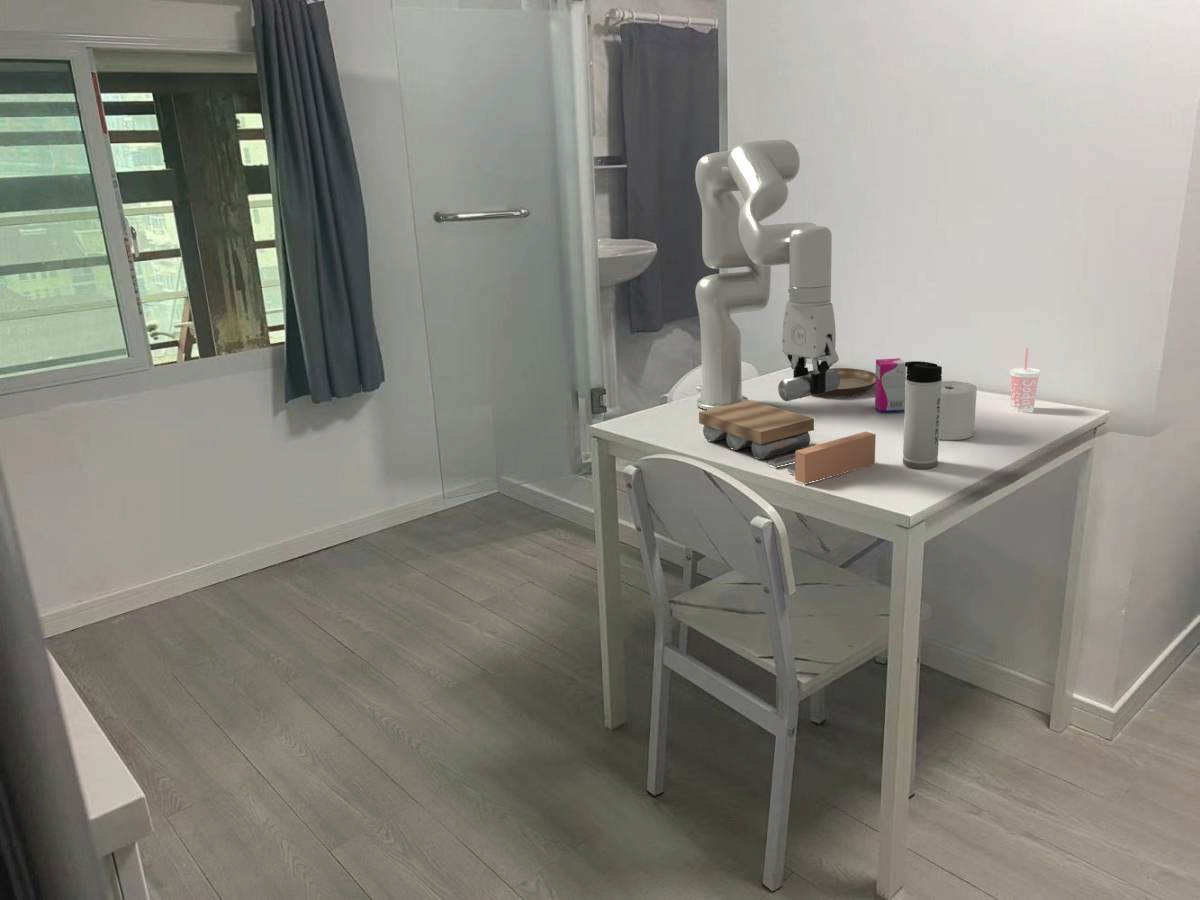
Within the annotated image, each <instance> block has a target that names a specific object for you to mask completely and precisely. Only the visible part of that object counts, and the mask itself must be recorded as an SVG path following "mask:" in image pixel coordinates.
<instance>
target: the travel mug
mask: <svg viewBox="0 0 1200 900" xmlns="http://www.w3.org/2000/svg"><path fill="white" fill-rule="evenodd" d="M904 362H905V361H904ZM905 366H906V389H905V412H904V422H903V423H904V424H903V427H904V428H903V443H902V444H903V445H902V446H903V449H902V464H903V466H904V467H905V466H906V467H907V468H910V469H914V468H915V469H916V470H928V469H929V470H931V469H933V468H935V467H936V466H938V463H939V462H938V461H939V459H938V456H939V441H940V439H939V424H940V405H941V386H942V383H941V382H942V381H943V380H942V377H943V376H942V374H943V368H942V365H938V364H937V363H934V362H928V361H915V360H914V361H913V360H912V361H906V362H905Z"/></svg>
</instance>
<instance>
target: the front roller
mask: <svg viewBox="0 0 1200 900" xmlns="http://www.w3.org/2000/svg"><path fill="white" fill-rule="evenodd" d="M810 443H811V437H810V432H805V433H801V434H798V435H794V436H790V437H786V438H783V439H779V440H775V441H771V442H768V443H764V444H759V443H756V442H753V443H752V446H751V452H752V454H753V456H754V457H755V458H756V457H757V458H760V459H759V460H763V459H766V458H767V457H768V458H771V457H774V456H778V455H782V454H785V453H790V452H792V451H797V450H800V449H804V448H808V447H809V446H810ZM757 458H756V459H757Z"/></svg>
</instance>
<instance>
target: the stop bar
mask: <svg viewBox="0 0 1200 900" xmlns="http://www.w3.org/2000/svg"><path fill="white" fill-rule="evenodd" d="M876 436H877V435H876V433H873V432H868V431H862V432H859V433H855V434H852V435H846V436H844V437H840V438H838V439H837V438H836V439H834V440H830V441H826V442H822V443H819V444H815V445H811V446H807V447H804V448H800V449H797V450H794V451H795V452H794V454H795V463H794V464H795V465H794V466H795V476H794V477H795V479H794V480H797V481H799V482H802V483H804V484H805V483H809V482H812V481H816V480H820V479H823V478H827V477H830V476H833V477H835V476H834V475H837V474H840V475H842V474H841V473H843V474H845V473H844V472H847V471H850V472H852V471H851V470H853V471H855V470H854V469H856V470H859V469H858V468H860V469H862V467H863V468H866V467H869V465H870V466H873V465H875V463H876V439H877V438H876ZM865 466H866V467H865ZM847 473H848V472H847ZM837 476H838V475H837ZM830 478H831V477H830ZM827 479H828V478H827ZM823 480H824V479H823ZM820 481H821V480H820Z"/></svg>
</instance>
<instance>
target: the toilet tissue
mask: <svg viewBox="0 0 1200 900" xmlns="http://www.w3.org/2000/svg"><path fill="white" fill-rule="evenodd" d="M941 383H942V386H941V405H940V424H939V441H940V440H944V441H958V440H966V439H969V438H972V437H973V436H974V434H975V422H976V421H975V420H976V406H977V405H976V404H977V391H978V390H977V388H978V387H977V386H976V385H974V384H973V383H969V382H966V381H965V382H964V381H957V380H942V382H941Z"/></svg>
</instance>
